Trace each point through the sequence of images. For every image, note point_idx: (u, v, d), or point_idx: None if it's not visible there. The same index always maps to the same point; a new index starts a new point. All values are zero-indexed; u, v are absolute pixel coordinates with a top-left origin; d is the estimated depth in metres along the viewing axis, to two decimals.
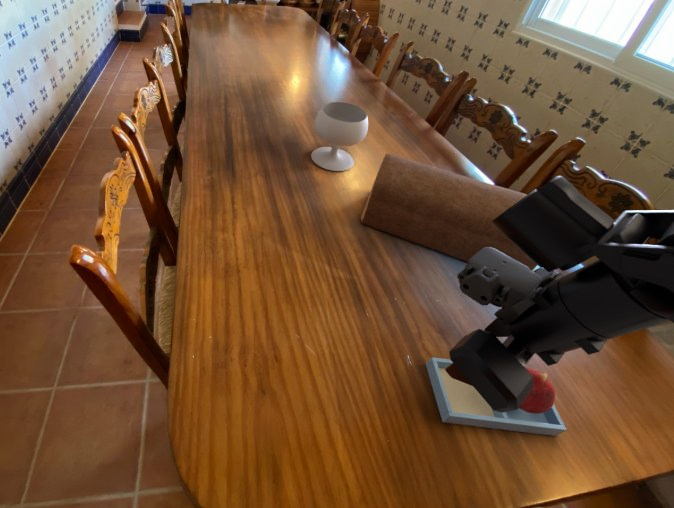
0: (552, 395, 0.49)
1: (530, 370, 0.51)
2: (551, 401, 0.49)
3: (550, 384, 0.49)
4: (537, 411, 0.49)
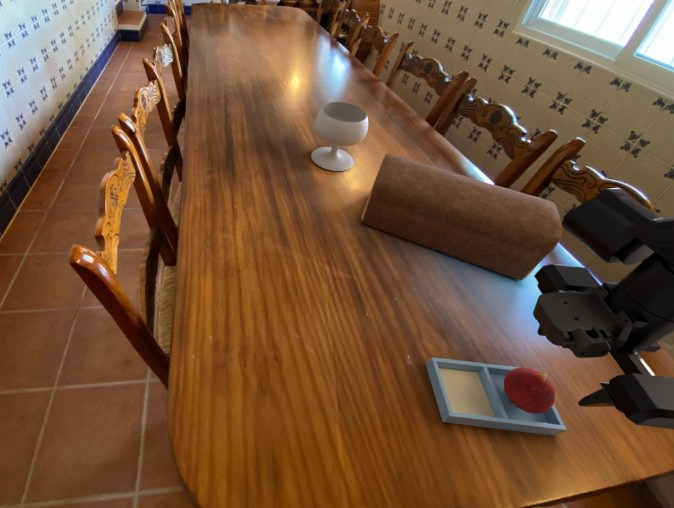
0: (552, 395, 0.49)
1: (530, 370, 0.51)
2: (551, 401, 0.49)
3: (550, 384, 0.49)
4: (537, 411, 0.49)
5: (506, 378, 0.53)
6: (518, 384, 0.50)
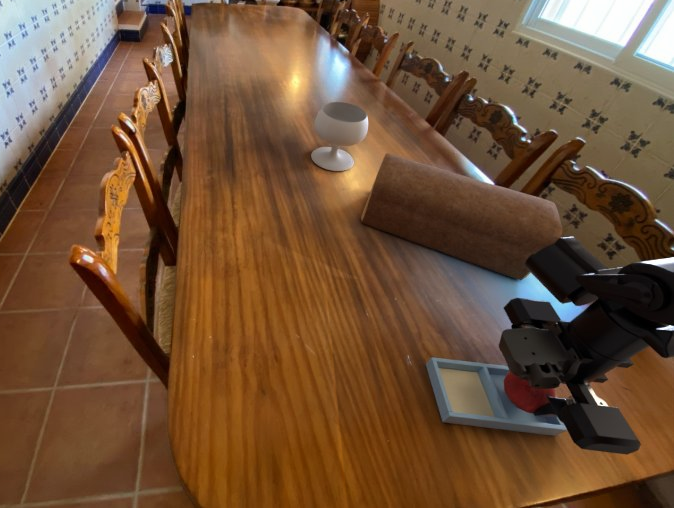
0: (552, 395, 0.49)
1: None
2: None
3: None
4: None
5: (506, 378, 0.53)
6: (518, 384, 0.50)
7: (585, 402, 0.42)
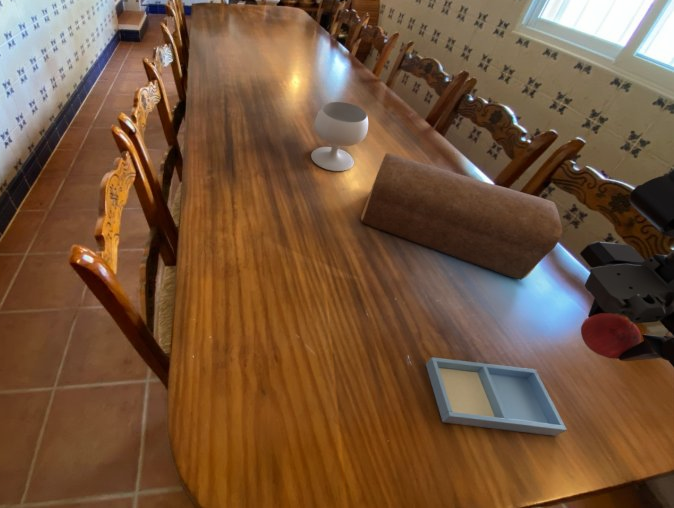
0: (639, 338, 0.47)
1: (612, 315, 0.49)
2: None
3: (636, 327, 0.47)
4: None
5: (585, 325, 0.51)
6: (601, 328, 0.49)
7: None
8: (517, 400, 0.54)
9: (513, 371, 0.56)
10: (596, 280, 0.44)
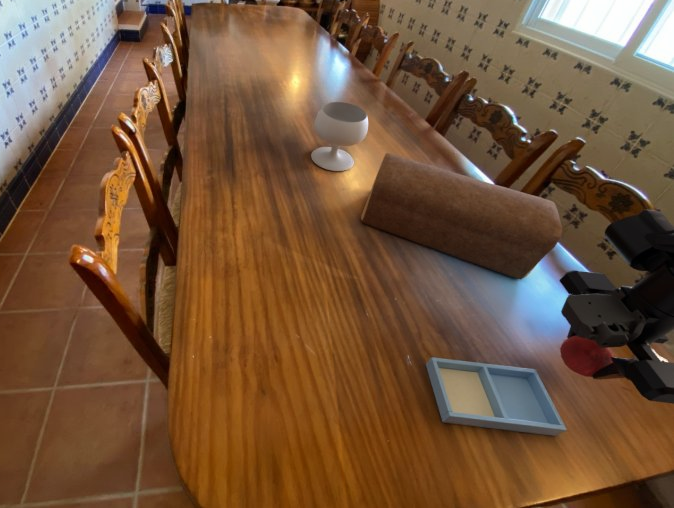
0: (610, 359, 0.52)
1: None
2: None
3: (608, 349, 0.53)
4: None
5: (563, 345, 0.56)
6: (577, 349, 0.54)
7: (649, 360, 0.46)
8: (517, 400, 0.54)
9: (513, 371, 0.56)
10: (570, 308, 0.49)
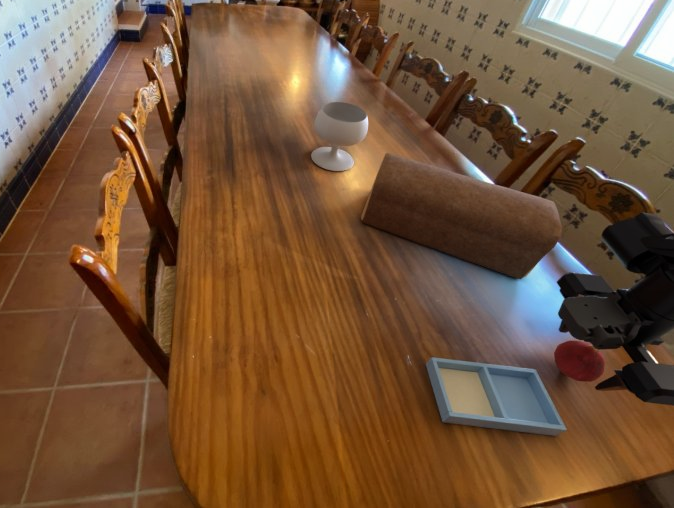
0: (603, 364, 0.53)
1: (580, 342, 0.56)
2: (602, 369, 0.53)
3: (600, 354, 0.54)
4: (588, 379, 0.54)
5: (557, 350, 0.57)
6: (570, 355, 0.55)
7: (644, 361, 0.47)
8: (517, 400, 0.54)
9: (513, 371, 0.56)
10: (566, 310, 0.50)
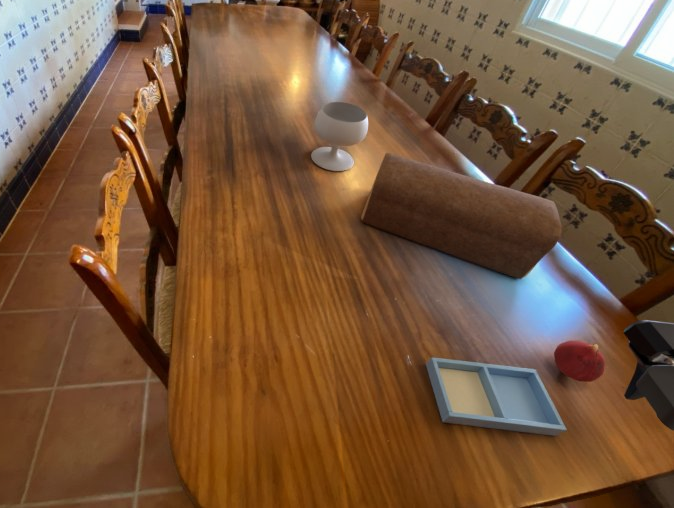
0: (603, 364, 0.53)
1: (580, 342, 0.56)
2: (602, 369, 0.53)
3: (600, 354, 0.54)
4: (588, 379, 0.54)
5: (557, 350, 0.57)
6: (570, 355, 0.55)
7: None
8: (517, 400, 0.54)
9: (513, 371, 0.56)
10: (654, 385, 0.34)
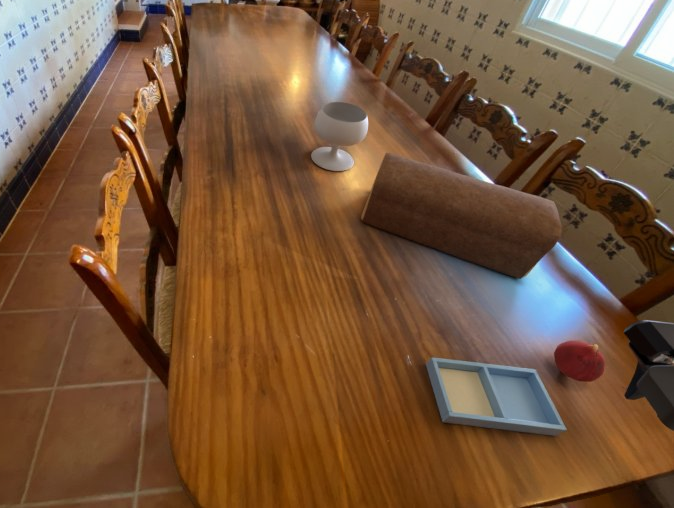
0: (603, 364, 0.53)
1: (580, 342, 0.56)
2: (602, 369, 0.53)
3: (600, 354, 0.54)
4: (588, 379, 0.54)
5: (557, 350, 0.57)
6: (570, 355, 0.55)
7: None
8: (517, 400, 0.54)
9: (513, 371, 0.56)
10: (655, 386, 0.34)
